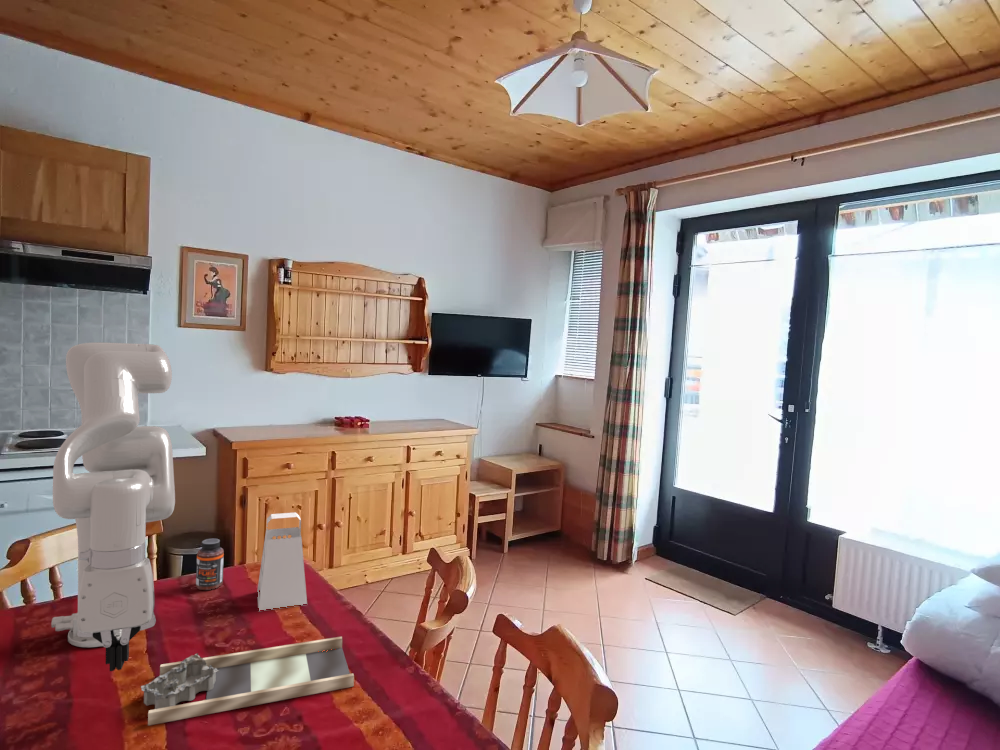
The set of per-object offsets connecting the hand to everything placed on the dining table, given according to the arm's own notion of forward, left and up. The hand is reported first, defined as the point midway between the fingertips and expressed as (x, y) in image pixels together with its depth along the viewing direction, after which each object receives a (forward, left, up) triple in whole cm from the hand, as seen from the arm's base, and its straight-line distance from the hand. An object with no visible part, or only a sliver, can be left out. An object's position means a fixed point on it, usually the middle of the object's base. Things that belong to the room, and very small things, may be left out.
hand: (117, 666), depth 95 cm
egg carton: (+9, +1, -7) cm, 12 cm away
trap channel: (+21, +1, -7) cm, 22 cm away
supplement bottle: (+11, +46, -7) cm, 48 cm away
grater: (+27, +34, -7) cm, 44 cm away
